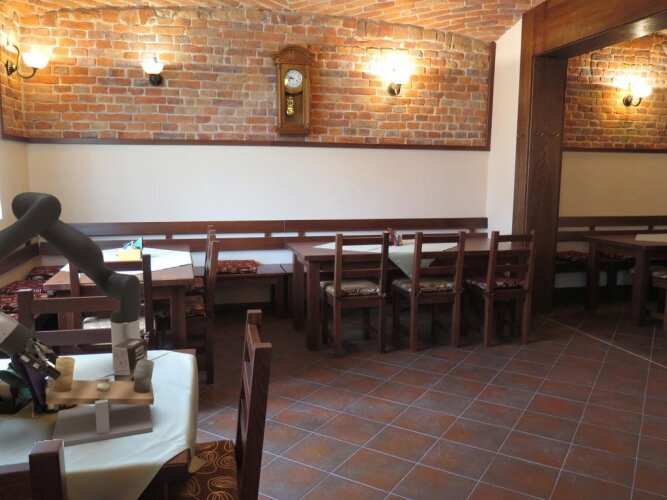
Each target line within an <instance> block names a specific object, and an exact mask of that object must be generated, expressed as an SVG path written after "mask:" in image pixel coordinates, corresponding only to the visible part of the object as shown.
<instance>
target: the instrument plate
mask: <svg viewBox="0 0 667 500" xmlns="http://www.w3.org/2000/svg"><path fill="white" fill-rule="evenodd" d="M58 357H59V358H57V359H56V366H55V367H54V368H56V369H57V370H58V371H60V372H61V375H60V376H59V377H58V378H57V379H56V380H54V379H51V382H50V385H49V389H48V391H47V394H46V398H45V405H95V401H99V400H106V399H108V404H126V405H154V402H155V395H154V390H153V382H152V378H153V373H154V365H155V362H154V361H152V360H150V359H147V360H139V361H138V362H137V368H136V375H135V382H130V381H114V380H109V381H105V380H102V381H97V380H86V379H85V380H83V379H82V380H80V379H78V380H76V379H75V380H74V379H73V378H74V369H75V363H76V359H75V358H74V357H70V356H58Z"/></svg>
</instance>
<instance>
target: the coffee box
mask: <svg viewBox="0 0 667 500" xmlns="http://www.w3.org/2000/svg"><path fill="white" fill-rule="evenodd" d="M147 341H148V340H147V339H146V338H142V339H137V338H135V339H134V338H129V339H127V340H125V341H123V342H121V343H119V344H117V345H116V346H114V347H113V355H112V361H113V360H114V369H113V374H114V375H113V377H114V380H113V381H130V382H135V375H136V368H137V362H138V361H139V360H148V344H147V343H148V342H147Z"/></svg>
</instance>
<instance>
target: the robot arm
mask: <svg viewBox="0 0 667 500" xmlns="http://www.w3.org/2000/svg"><path fill="white" fill-rule="evenodd" d="M11 210H12V214H13V216H14V217H15V218H16V221H15V222H13V223H12V224H10V225H8V226H6V227H5V228H3V229H1V230H0V264H1V263H2V262H3V261H4V260H6V258H7V257H9V256H10V255H11V254H13V253H14V252H15V251H16V250H18V249H19V248H20V247H22V246H23V245H25V244H26V243H27V242H29V241H30V240H32V239H33V238H35V237H36V236H38V235H39V236H40V237H41V238H42V239H44V240H45V241H46V242H47V243H48V244H49V245H50V246H52V247H53V248H54V249H55V250H56V251H57V252H59V253H60V254H61V255H62V256H63V257H64V258H65V260H67V261H68V262H70V263H71V264H72V266H74V267H75V268H77V270H79V271H80V272H82V274H83V275H85V276H86V277H87V278H88V279H89V280H91V281H92V283H94V284H95V286H96V287H97V288H98V289H99V291H101V292H102V294H103V295H104V296H106V297H107V298H108V299H110V300H114V301H120V303H119V308H118V309H115V310H112V312H110V315H109V317H110V319H109V320H110V332H111V348H112V349H111V351H112V356H113V347H114V346H116V345H117V344H119V343H121V342H123V341H125V340H127V339H129V338H134V339H135V338H137V339H143V338H142V337H141V329H140V328H141V327H140V313H141V309H142V305H141V304H142V285H141V284H142V283H141V281H140V279H139V277H138V276H137V275H135V274H129V273H120V272H117V271H115V270H113V269H112V268H111V267H109V265H107V264H106V262H105V257H104V253H103V251H102V248H101V247H100V246H99V245H98V244H97V243H96V242H95V241H94V240H93V239H92V238H91V237H90V236H88V235H87V234H86V233H84V232H82V231H81V230H80V229H77V228H76V227H74V226H71V225H69V224H67V223H65V222H64V221H62V220H61V219H60V217H61V214H62V204H61V201H60V199H58V198H57V197H56V196H55V195H52V194H49V193H46V192H36V191H35V192H33V191H25V192H21V193H18V194H16V195H15V196H14V198H13V199H12V202H11ZM33 333H34V332H33V331H32V330H30V329H29V327H26V326H25V325H24V324H22V323H20V322H19V321H17V320H16V319H14V318H13V317H12V316H10V315H9V314H6V313H4V312H3V311H1V310H0V351H2V352H3V353H5V354H6V355H8V356H9V357H13V356H14V355H15V354H17V353H18V354H19V355H20V357H19V358H18V360H17V361H18V362H19V363H20V364H23V365H24V366H26V367H27V368H29V369H30V370H31V371H33V372H34V373H36V374H37V375H39V374H41V373H42V374H43V373H44V374H45V375H47V377H50V379H51V380H56V379H57V378H58V377H59V376H60V375H61V372H60V371H58V370H57V369H56V368H55V367H56V359H57V358H59V357H60V356H59V355H57V354H56V353H55V352H54V350H53V347H52V346H50V345H49V344H47V343H46V342H45V341H43V340H41V339H40V338H39V337H37V336H35V335H34V334H33ZM51 364H52V365H51ZM53 365H54V366H55V367H54V366H53ZM112 369H113V370H114V360H113V359H112Z"/></svg>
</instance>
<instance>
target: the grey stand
mask: <svg viewBox="0 0 667 500" xmlns="http://www.w3.org/2000/svg"><path fill="white" fill-rule="evenodd" d="M102 380H105V381H110V376H104V377H98V378H97V379H96V381H102ZM152 432H153V423H152V413H151V406H150V405H126V404H108V399H106V400H99V401H95V404H94V405H92V406H91V405H90V406H82V407H77V408H69V409H63V410H58V412H57V417H56V422H55V425H54V430H53V433H52V434H53V435H52V438H51V440H52V439H63V441H64V447H67V446H75V445H79V444H86V443H92V442H98V441H106V440H109V439H117V438H122V437H123V438H124V437H128V436H135V435H141V434H146V433H152Z"/></svg>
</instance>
